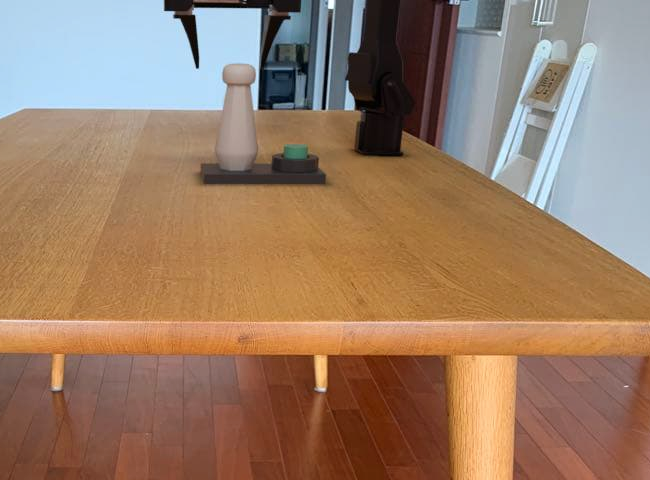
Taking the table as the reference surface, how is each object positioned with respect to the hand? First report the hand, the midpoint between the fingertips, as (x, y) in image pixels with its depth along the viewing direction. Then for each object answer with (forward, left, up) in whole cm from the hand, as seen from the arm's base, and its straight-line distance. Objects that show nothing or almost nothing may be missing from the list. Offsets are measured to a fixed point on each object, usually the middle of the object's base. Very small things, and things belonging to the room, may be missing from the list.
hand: (229, 68), depth 116 cm
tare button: (-8, +14, -10) cm, 19 cm away
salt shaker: (0, +13, -12) cm, 18 cm away
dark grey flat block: (-3, +14, -13) cm, 19 cm away
